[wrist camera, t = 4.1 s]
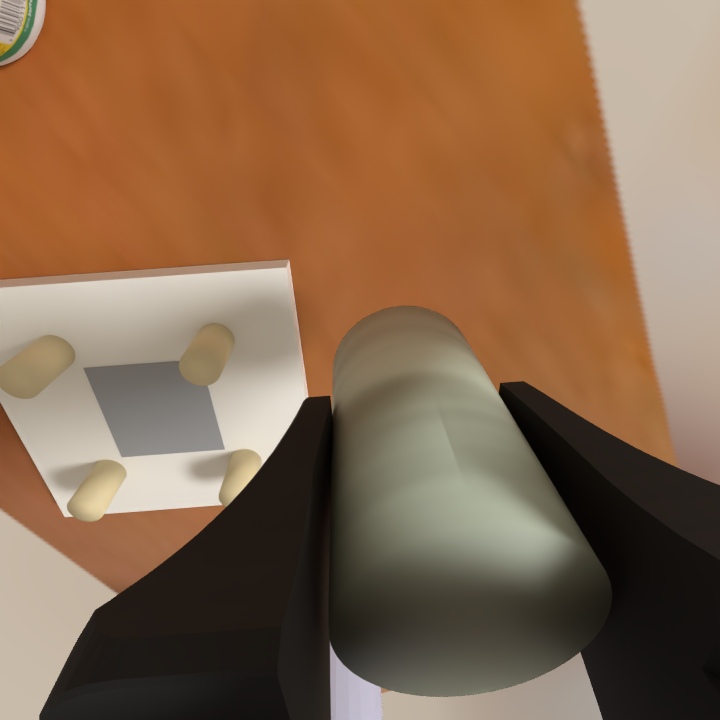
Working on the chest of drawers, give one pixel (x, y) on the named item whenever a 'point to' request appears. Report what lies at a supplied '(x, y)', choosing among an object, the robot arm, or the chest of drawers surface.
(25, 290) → the base plate
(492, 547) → the peg
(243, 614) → the robot arm
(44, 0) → the supplement bottle
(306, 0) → the chest of drawers surface
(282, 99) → the chest of drawers surface
